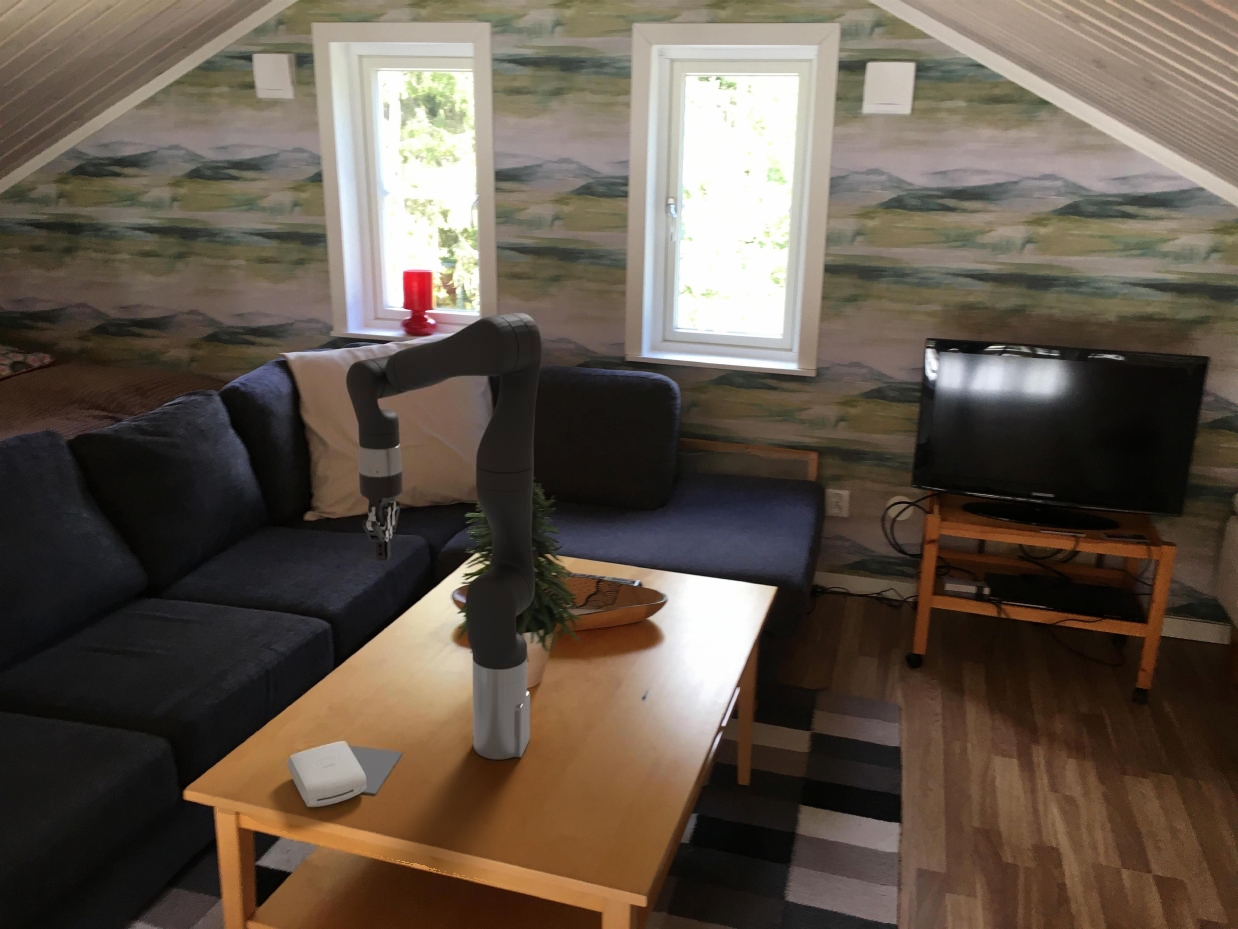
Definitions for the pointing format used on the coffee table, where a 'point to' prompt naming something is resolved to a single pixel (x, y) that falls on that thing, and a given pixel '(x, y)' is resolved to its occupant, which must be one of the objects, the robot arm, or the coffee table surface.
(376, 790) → the mat
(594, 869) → the coffee table surface
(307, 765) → the photo printer
